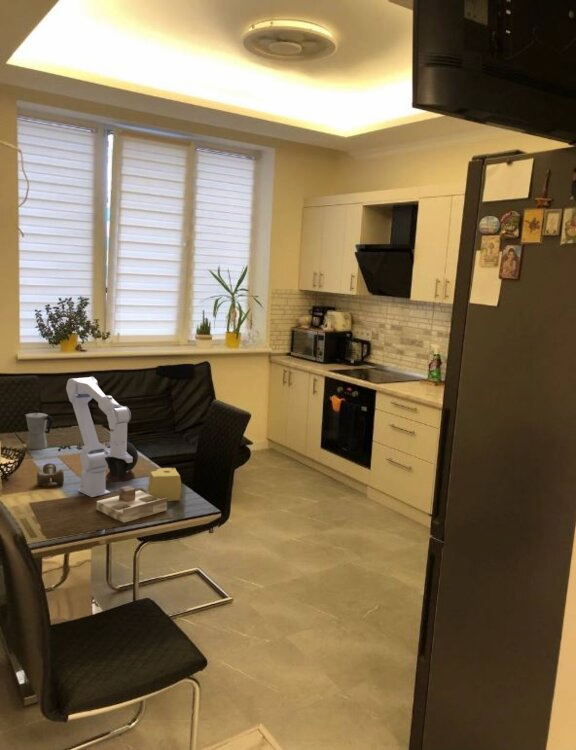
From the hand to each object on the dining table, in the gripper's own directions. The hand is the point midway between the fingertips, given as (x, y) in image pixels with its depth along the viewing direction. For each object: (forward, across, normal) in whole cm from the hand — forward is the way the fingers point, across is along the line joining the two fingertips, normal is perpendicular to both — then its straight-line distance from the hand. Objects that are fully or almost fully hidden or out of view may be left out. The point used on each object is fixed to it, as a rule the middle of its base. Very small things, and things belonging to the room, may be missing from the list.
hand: (117, 477), depth 224 cm
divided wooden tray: (+9, +9, 0) cm, 13 cm away
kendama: (+10, -35, -6) cm, 37 cm away
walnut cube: (+6, +6, 0) cm, 9 cm away
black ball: (+10, -24, +18) cm, 31 cm away
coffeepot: (+10, -83, +14) cm, 85 cm away
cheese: (+10, +6, +17) cm, 20 cm away
